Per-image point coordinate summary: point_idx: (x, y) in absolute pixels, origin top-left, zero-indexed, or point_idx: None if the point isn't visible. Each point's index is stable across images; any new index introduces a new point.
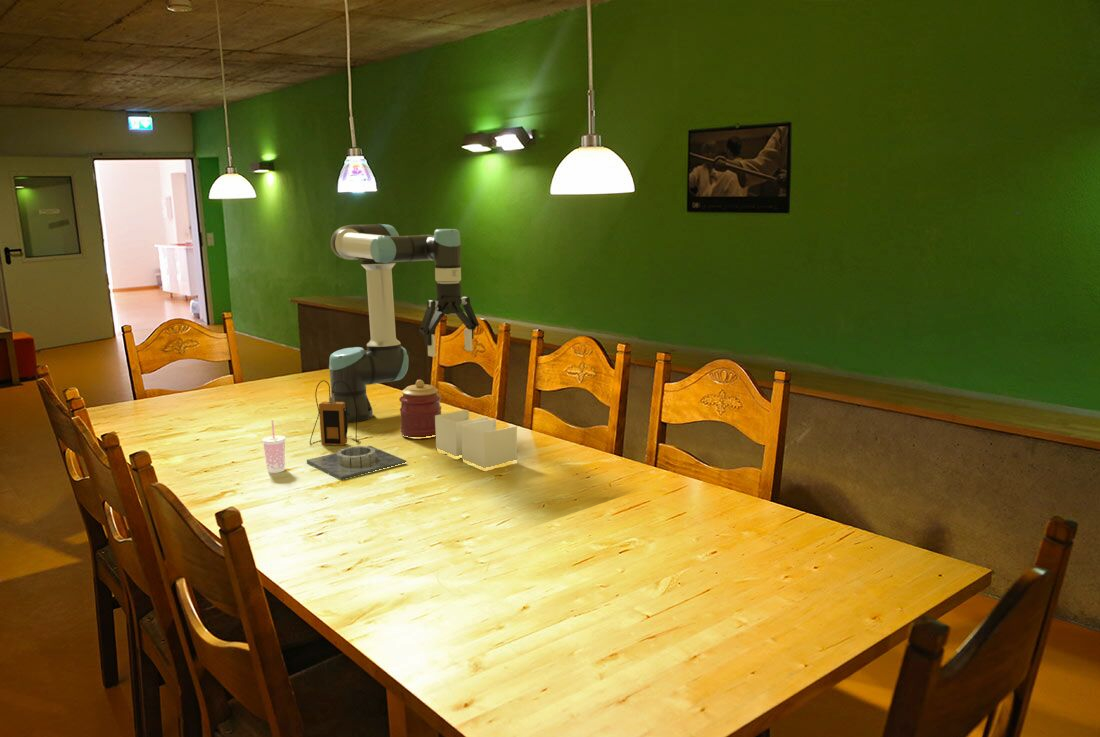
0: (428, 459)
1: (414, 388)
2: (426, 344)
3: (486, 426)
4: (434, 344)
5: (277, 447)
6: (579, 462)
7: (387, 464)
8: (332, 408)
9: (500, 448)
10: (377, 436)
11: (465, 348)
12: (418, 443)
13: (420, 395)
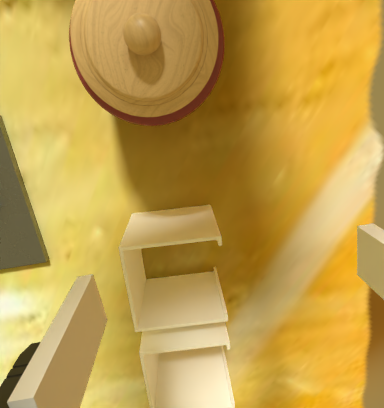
0: (97, 253)
1: (113, 53)
2: (29, 354)
3: (205, 336)
4: (83, 382)
5: None
6: (305, 384)
7: (4, 264)
8: None
9: (190, 379)
10: (44, 6)
11: (363, 236)
12: (119, 136)
13: (122, 110)
